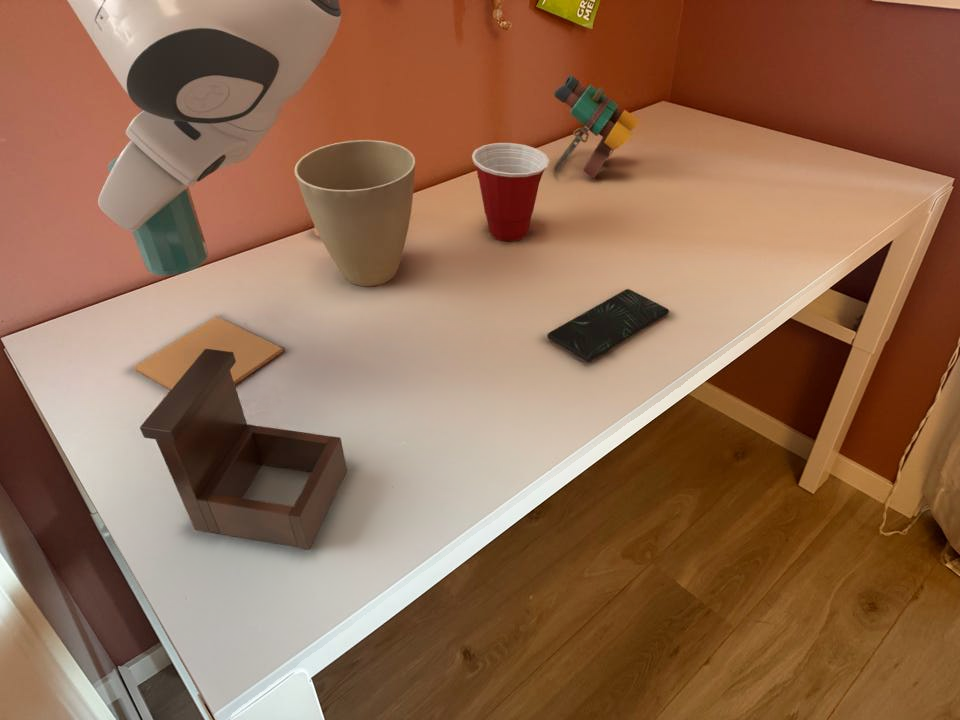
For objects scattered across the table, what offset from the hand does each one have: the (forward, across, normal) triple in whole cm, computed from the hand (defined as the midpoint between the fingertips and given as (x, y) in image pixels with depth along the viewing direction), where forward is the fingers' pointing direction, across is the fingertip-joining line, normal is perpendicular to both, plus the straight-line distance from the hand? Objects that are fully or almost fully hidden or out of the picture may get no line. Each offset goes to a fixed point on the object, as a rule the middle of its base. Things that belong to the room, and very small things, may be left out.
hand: (152, 204), depth 72 cm
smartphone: (-18, -15, +47) cm, 52 cm away
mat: (+14, 0, +15) cm, 20 cm away
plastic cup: (-7, -36, +36) cm, 51 cm away
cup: (+4, 0, +5) cm, 6 cm away
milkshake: (+12, -32, +16) cm, 38 cm away
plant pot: (+5, -22, +24) cm, 33 cm away
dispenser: (+2, +18, +26) cm, 32 cm away
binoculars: (-14, -60, +43) cm, 75 cm away
